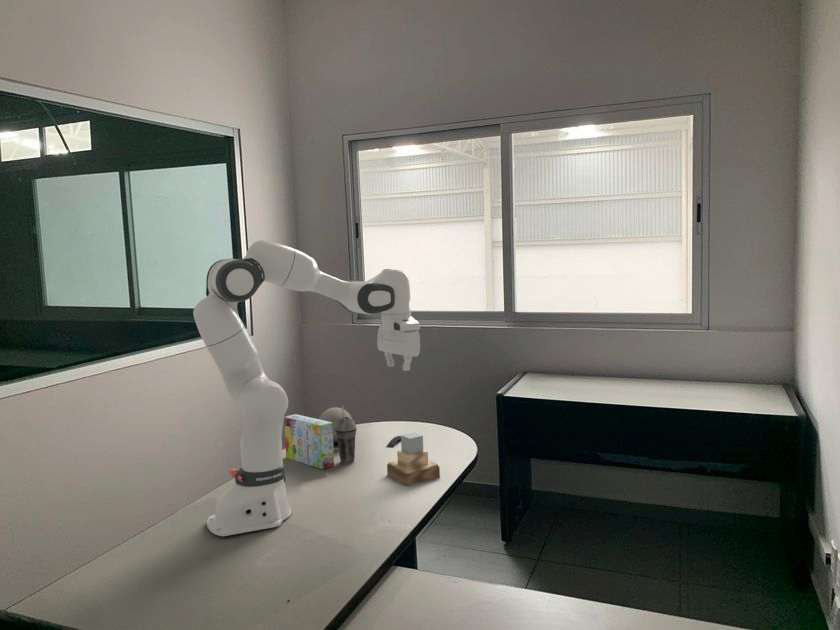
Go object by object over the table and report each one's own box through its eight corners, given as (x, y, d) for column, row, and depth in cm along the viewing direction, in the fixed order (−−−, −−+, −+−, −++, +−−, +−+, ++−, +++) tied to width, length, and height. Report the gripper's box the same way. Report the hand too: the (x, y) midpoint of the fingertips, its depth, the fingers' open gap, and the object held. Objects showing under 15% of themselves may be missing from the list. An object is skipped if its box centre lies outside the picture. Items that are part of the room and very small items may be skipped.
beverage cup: (362, 461, 213) (360, 403, 211) (349, 467, 207) (346, 408, 205) (345, 458, 217) (343, 401, 215) (332, 464, 211) (329, 406, 209)
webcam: (361, 445, 231) (359, 405, 230) (339, 455, 220) (337, 413, 219) (333, 441, 238) (331, 402, 237) (311, 450, 227) (309, 410, 226)
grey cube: (409, 454, 192) (409, 438, 192) (401, 450, 196) (400, 435, 196) (423, 451, 195) (422, 435, 194) (415, 447, 199) (414, 432, 199)
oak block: (409, 468, 191) (408, 456, 191) (397, 462, 197) (397, 450, 197) (428, 464, 195) (427, 451, 195) (416, 458, 201) (416, 446, 200)
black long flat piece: (371, 455, 221) (370, 446, 221) (400, 436, 244) (400, 428, 244) (394, 458, 217) (394, 448, 217) (422, 438, 240) (421, 429, 240)
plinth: (406, 485, 188) (406, 472, 188) (387, 474, 198) (386, 462, 198) (439, 477, 194) (439, 464, 194) (419, 467, 205) (419, 455, 204)
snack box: (335, 466, 209) (333, 421, 208) (322, 470, 205) (320, 425, 204) (298, 454, 224) (295, 412, 222) (284, 458, 219) (282, 416, 218)
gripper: (371, 321, 195) (373, 365, 196) (404, 326, 178) (406, 374, 179) (389, 319, 198) (390, 362, 200) (423, 324, 181) (424, 371, 182)
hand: (398, 368), depth 189 cm, fingers open, 8 cm apart
